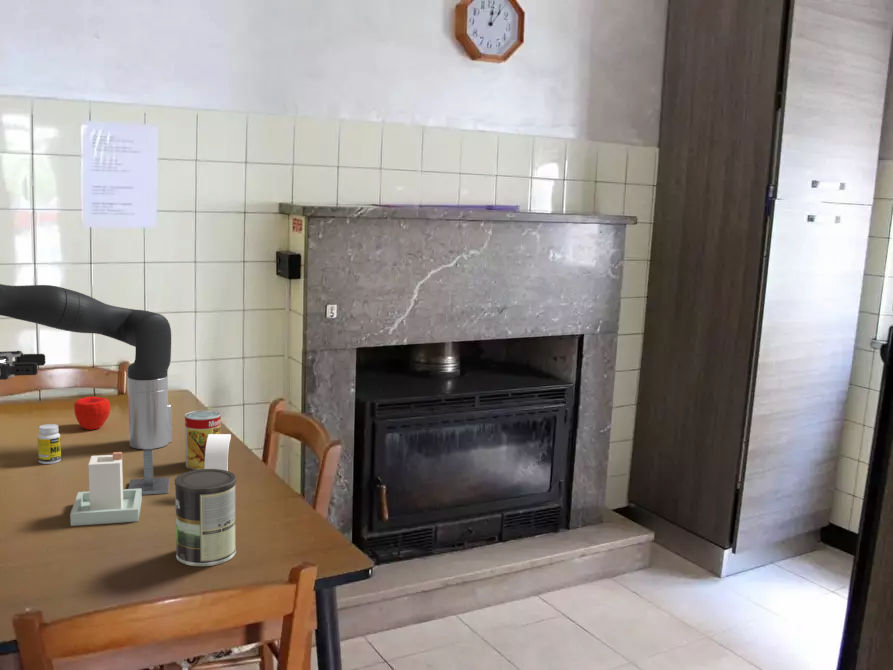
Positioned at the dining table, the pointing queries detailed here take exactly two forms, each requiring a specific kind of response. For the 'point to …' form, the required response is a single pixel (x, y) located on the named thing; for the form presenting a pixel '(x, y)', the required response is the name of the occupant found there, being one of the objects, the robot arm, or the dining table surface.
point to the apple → (92, 412)
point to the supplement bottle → (49, 444)
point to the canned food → (199, 435)
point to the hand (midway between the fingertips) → (41, 364)
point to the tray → (87, 517)
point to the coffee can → (205, 517)
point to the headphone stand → (217, 451)
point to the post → (150, 478)
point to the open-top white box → (106, 482)
